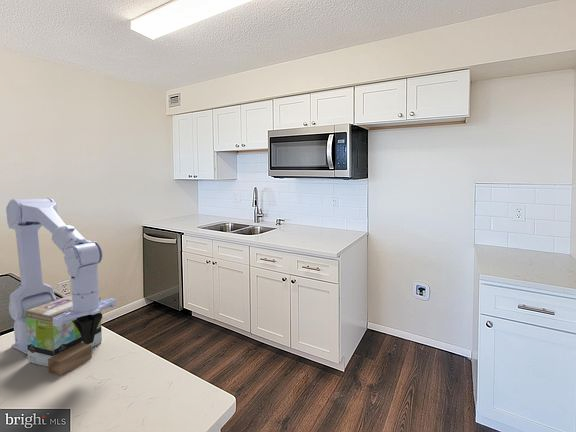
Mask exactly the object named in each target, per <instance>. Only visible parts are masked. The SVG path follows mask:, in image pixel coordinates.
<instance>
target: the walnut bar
mask: <svg viewBox="0 0 576 432" xmlns="http://www.w3.org/2000/svg"><path fill="white" fill-rule="evenodd" d="M92 352H93V351H92V348H91V345H90V344H85V343H82V342H80V343H78V344H76V345H74V346H72V347H70V348H68V349H66V350H64V351H62V352H60V353H58V354H56V355H55V356H53V357H51V358H49V359H48V367H47V368H48V374H52V375H55V376H58V377H61V376H62V375H64V374H65V375H66V373H68V372H70V371H71V370H74V369H75V368H76V367H78V366H80V365H82V364H83V363H85V362H87V361H89V360H90V359H92V358H93V355H92Z"/></svg>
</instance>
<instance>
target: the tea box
mask: <svg viewBox="0 0 576 432" xmlns="http://www.w3.org/2000/svg"><path fill="white" fill-rule="evenodd" d="M99 301H101V297H100V296H99ZM71 309H73V305H72V294H70V295H67V296H64V297H61V298H58V299H56V300H55V301H53V302H50V303H47V304H44V305H41V306H38V307H35V308H32V309H29V310H27V311H26V326H27V346H28V354H27V360H28V361H27V362H29V363H32V364H36V365H39V366H44V367H47V368H48V359H49V358H51V357H53V356H55V355H56V354H58V353H60V352H62V351H64V350H66V349H68V348H70V347H72V346H74V345H76V344H78V343H80V342H82V343H83V340H82V337H81V334H80V332H79V330H78V329H77V327H76V326H75V324H74V323H73V322H72V321H71V322H68V323H65V324H62V326H60V327H55V326H53V318H54V317H56V316H59V315H61V314H63V313H65V312H67V311H69V310H71ZM99 313H101V314H102V310H101V311H100V312H99ZM102 334H103V333H102V320H101V321H100V322H99V324H98V327H97V329H96V332H95V336H94V341H93V343H91V344H90V345H91V349H92V348H94V347H95V346H98V345H99V344H101V343H102Z"/></svg>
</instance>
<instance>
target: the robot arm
mask: <svg viewBox="0 0 576 432" xmlns="http://www.w3.org/2000/svg"><path fill="white" fill-rule="evenodd" d="M5 213H6V221H7V225H8V229H12V230H14V231H15V238H16V240H15V241H16V248H17V257H18V265H19V266H18V267H19V268H18V269H19V276H20V284H21V285H19V287H17V288H16V289H15V290H14V291H12V292H11V293H10V295H9V303H8V312H9V315H10V317H11V318H12V320H13V321H14V323H13V333H14V335H13V336H14V343H13V344H11V347H12V348H14V349H15V350H18V351H20V352H22V353H24V354H26V355H28V346H27V326H26V311H27V310H29V309H32V308H35V307H38V306H41V305H44V304H47V303H50V302H53V301H55V300H57V297H56V294H55V292H54V288H53V287H52V286H51V285H49V284H47V283H44V281H43V269H42V261H41V252H40V242H39V230H40V229H41V228H42V227H44V228H45V229H46V230H48V231H49V232H50V233H51V234H52V235H51V241H52V242H53V243H54V244H55V246H56V247H57V248H58V249H59V250H60V251H61V253H62V254H63V258H64V262H65V265H66V267H67V273H68V275H69V276H70V283H71V295H72V305H73V309H71V310H69V311H67V312H65V313H63V314H61V315H59V316H56V317H54V318H53V326H55V327H60V326H62V324H65V323H68V322H71V321H72V322H73V323H74V324H75V326H76V327H77V329H78V330H79V332H80V334H81V337H82V340H83V343H85V344H91V343H93V341H94V336H95V332H96V329H97V327H98V324H99V322H100V321H101V322H102V319H103V313H102V311H103V310H106V309H109V308H115V307H117V302H116V301H117V300H116V298H112V297H110V298H107V299H101V300H100V301H99V297H100V286H99V270H98V269H99V268H98V264H100V263H101V262H102V261H103V250H102V248H101V245H100V244H99V242H98V241H92V240H87V239H86V238H85V237H84V236H83V235H82V234H81V233H80V231H78V229H77V228H75V226H73V225H67V224H66V223H65V222H64V221H63V219H62V218H61V216H60V215H59V214H58V206H57V203H56V201H55V200H54V199H53V198H52V197H46V198H27V199H26V198H25V199H23V198H22V199H16V198H15V199H14V198H13V199H10V200H9V201H8V203H7V205H6V208H5ZM100 311H101V313H99V312H100Z"/></svg>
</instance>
